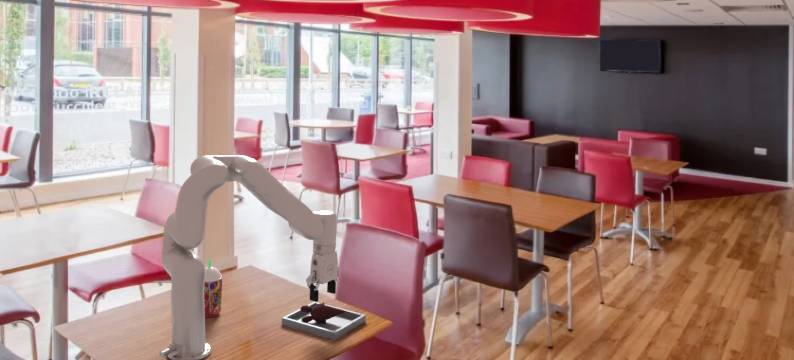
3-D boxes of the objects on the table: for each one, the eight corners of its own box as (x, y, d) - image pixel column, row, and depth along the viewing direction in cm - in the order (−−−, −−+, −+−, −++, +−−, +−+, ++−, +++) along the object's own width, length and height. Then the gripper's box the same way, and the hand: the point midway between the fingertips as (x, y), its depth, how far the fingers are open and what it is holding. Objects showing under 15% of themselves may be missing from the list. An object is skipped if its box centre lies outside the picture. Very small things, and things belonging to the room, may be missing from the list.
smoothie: (224, 317, 225) (223, 261, 222) (199, 320, 222) (197, 264, 219) (221, 308, 233) (220, 254, 229) (197, 311, 230) (195, 256, 226)
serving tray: (334, 340, 210) (335, 332, 209) (281, 324, 221) (281, 317, 220) (365, 321, 225) (365, 314, 225) (314, 308, 236) (314, 301, 235)
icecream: (344, 299, 226) (301, 302, 226) (343, 302, 219) (299, 305, 218) (346, 319, 226) (302, 323, 225) (345, 323, 218) (300, 326, 218)
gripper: (317, 255, 209) (316, 306, 211) (348, 244, 223) (346, 292, 226) (299, 251, 212) (297, 301, 215) (330, 240, 227) (329, 287, 230)
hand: (322, 296), depth 221 cm, fingers open, 9 cm apart
